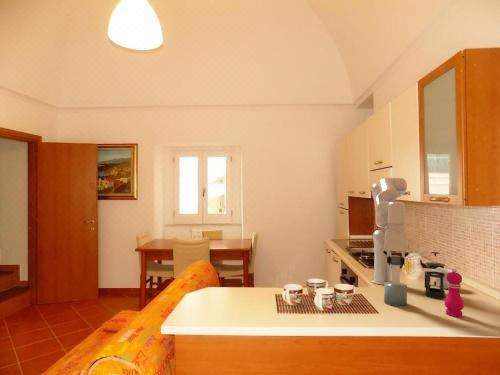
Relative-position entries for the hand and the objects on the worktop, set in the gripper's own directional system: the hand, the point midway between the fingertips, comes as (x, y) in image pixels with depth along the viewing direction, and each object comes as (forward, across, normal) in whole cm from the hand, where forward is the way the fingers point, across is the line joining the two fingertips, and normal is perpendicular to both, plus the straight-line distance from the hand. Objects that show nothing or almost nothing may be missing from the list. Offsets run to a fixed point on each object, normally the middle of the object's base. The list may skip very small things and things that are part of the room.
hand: (395, 265), depth 166 cm
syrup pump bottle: (+18, 0, 0) cm, 18 cm away
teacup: (+18, +26, +49) cm, 58 cm away
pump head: (+8, 0, +1) cm, 9 cm away
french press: (+19, +19, +24) cm, 36 cm away
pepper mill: (+19, +24, -6) cm, 31 cm away
